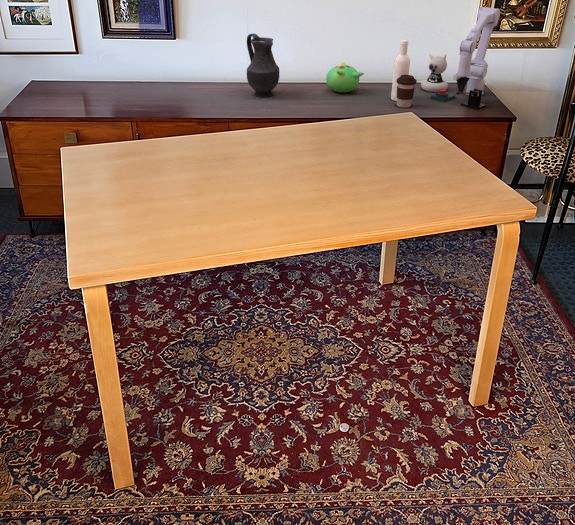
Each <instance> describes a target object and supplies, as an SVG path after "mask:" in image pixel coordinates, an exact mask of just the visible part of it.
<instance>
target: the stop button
mask: <svg viewBox="0 0 575 525" xmlns="http://www.w3.org/2000/svg"><path fill="white" fill-rule="evenodd" d="M446 92H447V90H445V89H440V90H439V93H440V94H446Z"/></svg>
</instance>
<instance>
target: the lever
mask: <svg viewBox="0 0 575 525" xmlns="http://www.w3.org/2000/svg"><path fill="white" fill-rule="evenodd" d="M477 92H478V96H479V91H477ZM465 94H468V95H467V96H469V92H466V91H464V90H463V92H459V91H458V92H456V93H455V95H456V96H457V95H465Z"/></svg>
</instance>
